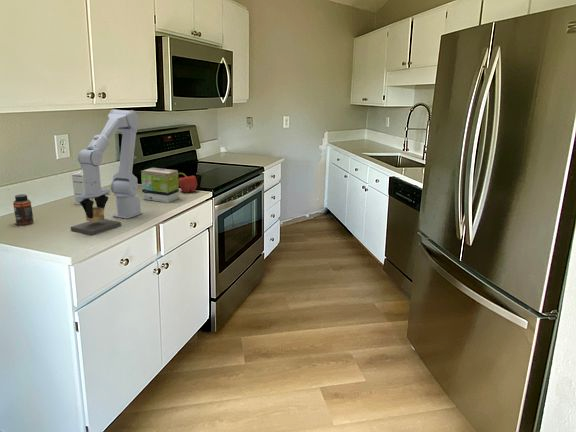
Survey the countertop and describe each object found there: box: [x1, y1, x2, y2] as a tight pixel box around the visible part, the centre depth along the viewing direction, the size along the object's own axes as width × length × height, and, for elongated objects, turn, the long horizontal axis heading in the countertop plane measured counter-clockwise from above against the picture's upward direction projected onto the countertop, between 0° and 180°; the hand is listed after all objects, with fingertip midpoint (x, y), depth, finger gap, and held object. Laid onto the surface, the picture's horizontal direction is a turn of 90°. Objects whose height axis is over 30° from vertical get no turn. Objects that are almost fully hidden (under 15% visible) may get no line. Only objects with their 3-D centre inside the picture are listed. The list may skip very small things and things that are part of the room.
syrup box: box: [71, 171, 94, 206], centre depth 196 cm, size 6×6×14 cm
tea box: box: [140, 167, 180, 204], centre depth 209 cm, size 15×10×15 cm
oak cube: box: [85, 206, 105, 222], centre depth 163 cm, size 4×4×4 cm
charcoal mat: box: [70, 218, 122, 236], centre depth 164 cm, size 14×11×2 cm
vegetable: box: [178, 172, 198, 193], centre depth 227 cm, size 11×10×10 cm
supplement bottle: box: [12, 193, 34, 226], centre depth 166 cm, size 6×6×11 cm
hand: (95, 216), depth 163 cm, fingers closed on oak cube, 4 cm apart
